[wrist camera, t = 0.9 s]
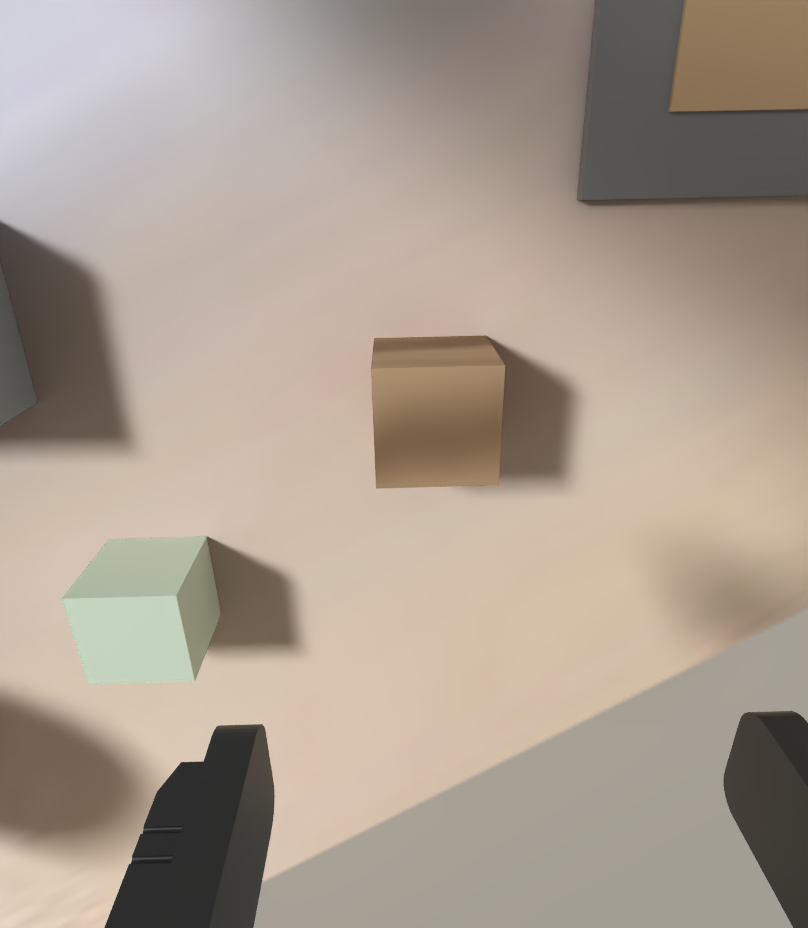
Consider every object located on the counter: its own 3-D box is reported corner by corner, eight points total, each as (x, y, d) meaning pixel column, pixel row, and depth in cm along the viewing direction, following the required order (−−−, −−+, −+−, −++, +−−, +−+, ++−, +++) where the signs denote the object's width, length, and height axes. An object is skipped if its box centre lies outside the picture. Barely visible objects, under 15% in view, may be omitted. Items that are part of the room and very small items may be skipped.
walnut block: (374, 337, 27) (370, 368, 22) (485, 335, 27) (505, 365, 22) (378, 441, 29) (376, 488, 24) (481, 438, 29) (498, 485, 25)
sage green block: (109, 538, 31) (61, 598, 26) (207, 535, 31) (176, 595, 26) (129, 615, 33) (88, 684, 29) (221, 613, 33) (194, 681, 29)
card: (614, -204, 20) (623, -219, 19) (979, -209, 20) (1001, -223, 19) (577, 199, 25) (582, 199, 24) (867, 193, 25) (881, 193, 24)
